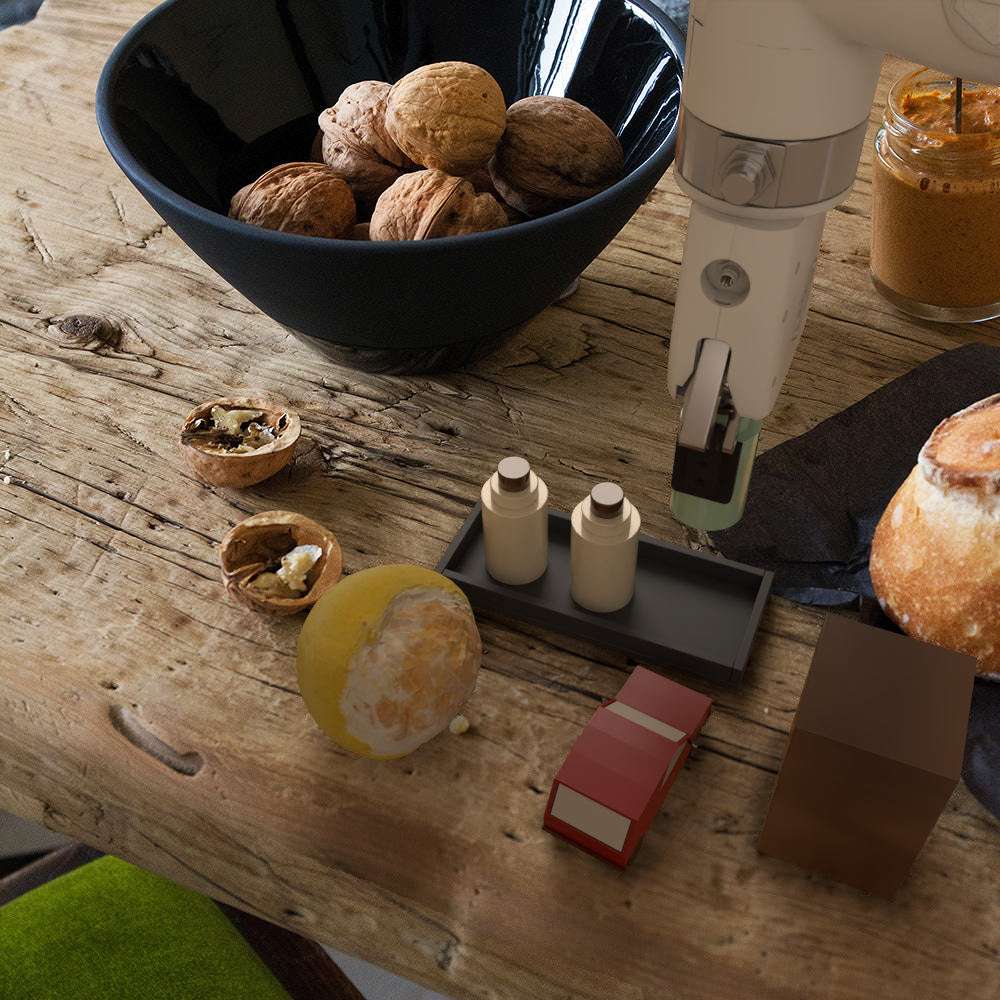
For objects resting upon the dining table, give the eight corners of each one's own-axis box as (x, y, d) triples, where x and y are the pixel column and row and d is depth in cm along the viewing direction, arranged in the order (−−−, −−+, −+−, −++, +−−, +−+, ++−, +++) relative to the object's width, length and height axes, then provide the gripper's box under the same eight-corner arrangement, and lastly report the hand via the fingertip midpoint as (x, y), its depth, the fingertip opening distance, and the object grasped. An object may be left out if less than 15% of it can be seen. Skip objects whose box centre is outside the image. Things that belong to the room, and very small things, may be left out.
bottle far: (557, 548, 69) (558, 454, 63) (533, 593, 66) (532, 499, 60) (500, 531, 70) (496, 437, 64) (474, 574, 68) (467, 480, 62)
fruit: (281, 761, 59) (245, 658, 52) (361, 620, 66) (339, 512, 59) (445, 815, 56) (431, 713, 49) (511, 662, 63) (506, 554, 56)
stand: (912, 786, 57) (977, 656, 48) (892, 901, 52) (960, 781, 44) (785, 743, 59) (826, 612, 50) (756, 850, 54) (794, 726, 46)
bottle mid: (642, 573, 67) (652, 479, 61) (621, 620, 65) (629, 527, 59) (582, 555, 69) (586, 461, 62) (559, 601, 66) (561, 507, 60)
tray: (770, 593, 67) (775, 572, 65) (737, 692, 61) (742, 671, 60) (486, 510, 73) (484, 489, 71) (434, 593, 68) (432, 572, 66)
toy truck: (717, 725, 60) (730, 675, 56) (629, 891, 53) (638, 847, 49) (627, 682, 62) (634, 631, 58) (531, 836, 55) (533, 790, 52)
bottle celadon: (752, 489, 59) (777, 370, 52) (733, 540, 56) (757, 420, 50) (681, 470, 60) (697, 351, 54) (659, 518, 57) (673, 399, 51)
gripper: (817, 265, 36) (743, 596, 49) (892, 75, 47) (815, 388, 60) (614, 224, 38) (595, 551, 51) (731, 53, 49) (690, 359, 62)
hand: (714, 461), depth 55 cm, fingers closed on bottle celadon, 4 cm apart
